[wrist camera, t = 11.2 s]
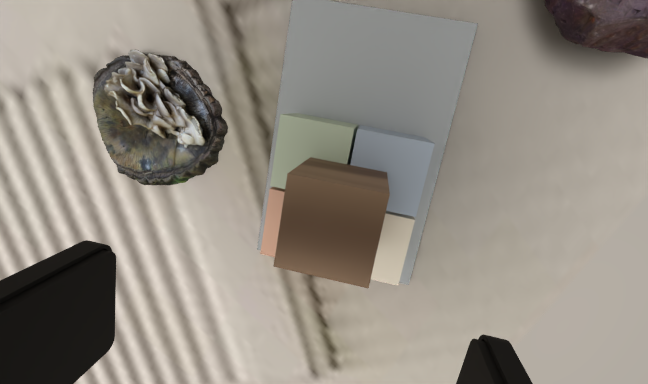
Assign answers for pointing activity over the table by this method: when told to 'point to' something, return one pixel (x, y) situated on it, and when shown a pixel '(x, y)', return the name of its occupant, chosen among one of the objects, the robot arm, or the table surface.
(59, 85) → the table surface
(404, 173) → the blue block
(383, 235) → the cream block
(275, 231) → the terracotta block
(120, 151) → the grey oval shell
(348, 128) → the sage block
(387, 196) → the walnut block
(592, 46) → the rock
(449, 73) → the assembly board
